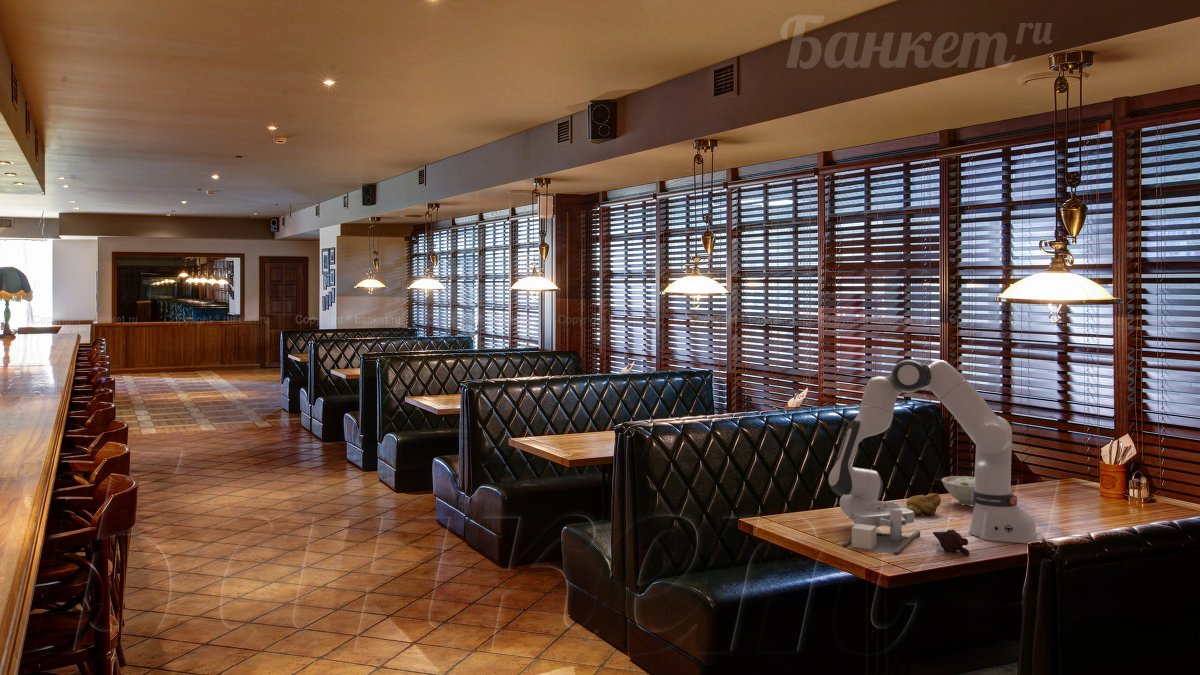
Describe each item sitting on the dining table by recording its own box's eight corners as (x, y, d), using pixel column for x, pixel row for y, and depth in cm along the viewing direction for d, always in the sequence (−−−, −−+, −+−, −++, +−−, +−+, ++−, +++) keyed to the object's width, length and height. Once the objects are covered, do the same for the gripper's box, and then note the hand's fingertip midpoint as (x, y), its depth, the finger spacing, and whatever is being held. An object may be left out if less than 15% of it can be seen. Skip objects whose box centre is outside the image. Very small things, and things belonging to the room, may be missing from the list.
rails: (920, 537, 299) (920, 531, 299) (897, 558, 275) (897, 552, 275) (868, 530, 308) (868, 524, 308) (842, 550, 285) (842, 543, 285)
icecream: (922, 526, 288) (957, 542, 274) (940, 518, 290) (976, 534, 277) (925, 546, 289) (960, 563, 276) (943, 538, 292) (978, 554, 278)
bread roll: (915, 519, 323) (915, 496, 322) (896, 513, 332) (897, 491, 331) (943, 515, 328) (943, 493, 327) (924, 509, 337) (924, 488, 336)
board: (907, 542, 291) (907, 509, 291) (892, 556, 277) (893, 521, 276) (864, 536, 299) (864, 504, 298) (847, 549, 284) (847, 515, 284)
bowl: (1007, 508, 336) (1007, 482, 335) (960, 511, 332) (960, 484, 331) (975, 497, 355) (975, 472, 354) (931, 500, 351) (931, 474, 350)
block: (876, 544, 286) (876, 526, 286) (870, 549, 281) (870, 530, 281) (857, 542, 289) (857, 523, 289) (851, 546, 284) (851, 527, 284)
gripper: (845, 506, 300) (869, 516, 286) (899, 501, 305) (924, 511, 292) (845, 525, 300) (869, 535, 287) (899, 520, 306) (924, 530, 292)
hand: (897, 523), depth 289 cm, fingers closed on board, 3 cm apart
